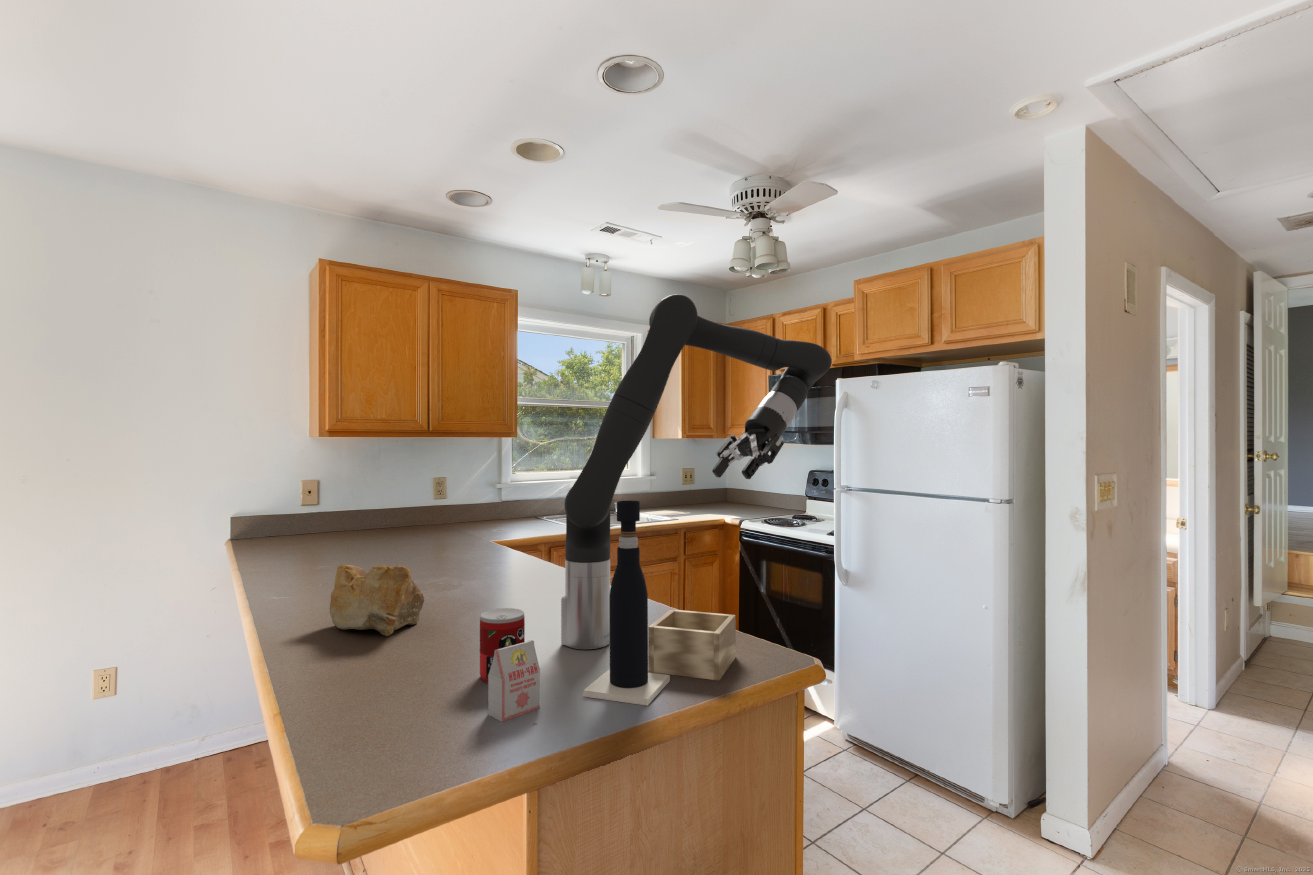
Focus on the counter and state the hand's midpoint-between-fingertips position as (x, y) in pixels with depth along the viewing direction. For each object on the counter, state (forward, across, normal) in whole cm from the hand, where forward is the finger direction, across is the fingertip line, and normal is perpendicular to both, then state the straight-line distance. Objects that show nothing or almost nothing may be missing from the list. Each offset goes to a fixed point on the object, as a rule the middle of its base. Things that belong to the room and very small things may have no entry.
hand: (730, 475), depth 123 cm
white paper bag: (+56, 0, -7) cm, 57 cm away
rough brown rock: (+60, -59, -11) cm, 85 cm away
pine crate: (+31, 0, +18) cm, 36 cm away
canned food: (+53, -15, -4) cm, 56 cm away
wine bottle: (+42, +3, +6) cm, 42 cm away
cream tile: (+43, +3, +6) cm, 43 cm away
